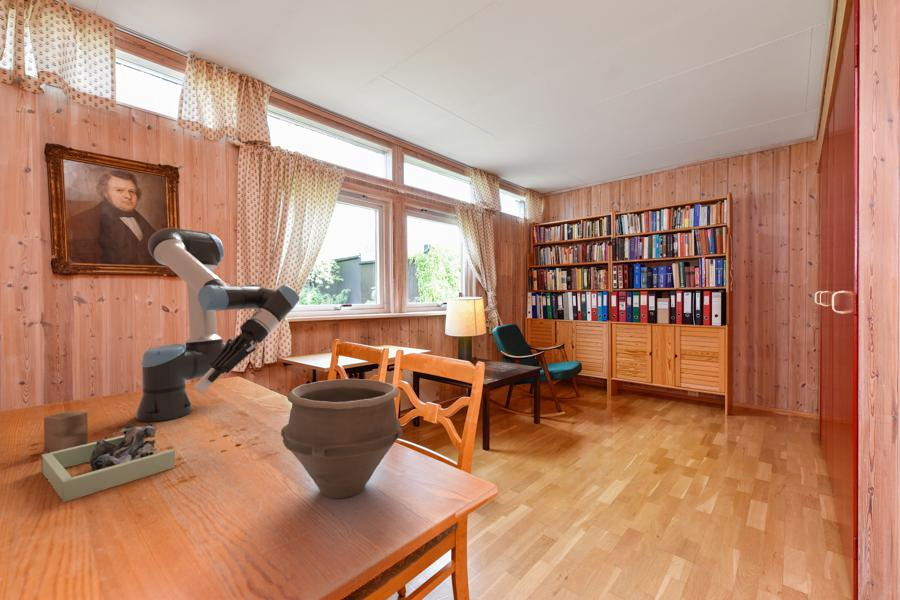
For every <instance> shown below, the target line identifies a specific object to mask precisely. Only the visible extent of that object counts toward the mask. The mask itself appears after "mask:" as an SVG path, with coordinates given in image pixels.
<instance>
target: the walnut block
mask: <svg viewBox="0 0 900 600" xmlns="http://www.w3.org/2000/svg"><path fill="white" fill-rule="evenodd" d="M43 424H44V425H43V438H44V439H43V442H44V444H43V447H44V449H43V450H44V452H45V451H49V452H48V453H50V452H55V451H59V450H63V449H68V448H72V447H76V446H80V445H85V444H89V442H88V441H89V439H88V438H89V437H88V435H89V433H88V431H89V429H88V428H89V427H88V426H89V425H88V424H89V423H88V412H86V411H80V410H79V411H77V410H68V411H65V412H60V413H56V414H53V415H48V416H44V417H43Z"/></svg>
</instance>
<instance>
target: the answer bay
mask: <svg viewBox="0 0 900 600" xmlns="http://www.w3.org/2000/svg"><path fill="white" fill-rule="evenodd" d="M124 436H125V434H123V435H120V436H115V437H109V438H107V439H104V441H107V442H109V443H111V444H114V445H116V446H118V445H119V444H120V443H121V442H122V440H123V438H124ZM145 441H146V438H145V439H144V442H145ZM132 442H133V441H132ZM132 442H130V443H129V444H128V445H127V447H129V446H130V445H132V444H133V443H132ZM96 444H97V441H94V442H90V443H89V442H88V444H85V445H80V446H76V447H72V448H68V449H63V450H59V451H55V452H46V453H43V454H41V473H42V475H43V476H44V475H45V476H44V477H45V478H47V479H48V480H47V479H46V480H47V481H48V483H49V482H50V483H51V484H50V483H49V484H50V486H51V485H52V486H53V487H52V486H51V487H52V488H53V490H54V489H55V490H54V491H55V492H57V493H58V494H57V493H56V494H57V495H58V497H59V496H60V497H59V498H60V500H61V499H62V500H61V501H62V503H66V502H69V501H72V499H73V500H76V499H79V498H82V497H85V496H89V495H91V494H94V493H98V492H100V491H101V492H102V491H104V490H107V489H110V488H113V487H114V488H115V487H117V486H120V485H123V484H126V483H129V482H133V481H135V480H139V479H142V478H145V477H149V476H153V475H155V474H158V473H159V474H160V473H161V472H165V471H168V470H171V469H174V468H175V467H176V451H175V449H168V450H165V451H161V452H158V453H154V454H150V456H146V457H143V458H139V459H136V460H132V461H128V462H125V463H121V464H118V465H115V464H114V465H111V466H107V467H103V468H100V469H99V470H96V471H90V472H86V473H82V474H79V475H76V476H71V474H70V473H69V472H68V470H66V468H69V467H73V466H77V465H82V464H85V463H88V462H89V463H90V457H91V454H92V452H93V451H94V450H95V449H96V447H97V446H96ZM97 445H98V444H97ZM95 446H96V447H95ZM94 448H95V449H94ZM128 449H129V448H128ZM128 449H127V450H128ZM125 451H126V450H125ZM125 451H124V452H125ZM122 453H123V452H121V453H117V454H118V455H120V454H122Z"/></svg>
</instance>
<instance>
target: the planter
mask: <svg viewBox="0 0 900 600" xmlns="http://www.w3.org/2000/svg"><path fill="white" fill-rule="evenodd" d="M399 391H400V390H399V388H397V386H396V385H393V384H392V383H388V382H384V381H380V380H375V379H365V378H363V379H360V378H339V379H329V380H328V379H327V380H320V381H315V382H310V383H306V384H305V383H304V384H301V385H298V386H297V387H295V388H293V389H291V391H289V393H288V394H287V401H288V402H290V403H291V409H290V411H289V419H288V424H286V425H284V426H283V427H282V428H281V430H280V431H281V432H280V435H281V437H282V443H283V445H284V447H285V448H286V449H287V450H289V451H290V452H291V453H292V454H293V455H294V457H296V459H297V460H298V461H299V463H300V464H301V465H302V466H303V468H304V470H305V471H306V472H307V474H308V475H309V476H310V478H311V479H312V480H313V482H314V483H315V485H316V486H317V488H318V490H319V492H320V493H321V494H322V495H323V496H324V497H326V498H330V499H338V500H339V499H346V498H351V497H354V496H356V495H357V494H359V493H361V492H362V491H363V489H364V488H365V486H366V485H367V484H368V482H369V480H370V479H371V477H372V476H373V474H374V472H375V471H376V469H377V468H378V466H380V463H381V462H382V461H383V459H384V457H385V456H386V455H387V453H388V452H389V451H390V449H391V448H392V447H393V446H394V444H395V443H396V441H397V440H398V439H400V438H401V437H402V435H403V434H404V433H403V432H404V430H403V428H401V422H400V420H399V419H398V418H397V412H396V411H397V408H396V403H395V398H397V397H398V396H399V393H400V392H399Z"/></svg>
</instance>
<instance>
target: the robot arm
mask: <svg viewBox="0 0 900 600" xmlns="http://www.w3.org/2000/svg"><path fill="white" fill-rule="evenodd" d="M149 237H150V238H149V239H148V242H147V249H148V252H149V254H150V256H151V257H152V258H153V260H155V261H156V262H157V263H158V264H160V265H163V266H167V267H168V268H169V269H170V270H171V271H173V272H174V273H175V274H176V275H177V276H178V277H179V278H180V279H181V280H182V281H184V282H185V283H186V292H187V293H186V294H187V307H188V308H187V309H188V310H187V311H188V323H189V325H188V326H189V338H188V339H187V340H186V341H185V344H183V343H171V344H164V345H159V346H155V347H152V348H149V349H147V350H146V351H144V352H143V355H142V362H141V367H142V396H141V399H140V402H139V404H138V407H137V410H136V412H135V418H136V421H138V422H147V423H149V422H151V423H153V422H162V421H168V420H173V419H177V418H181V417H184V416H186V415H189V414H190V413H192V411H193V410H192V407H193V405H192V402H191V400H190V398H189V395H188V393H187V390H186V381H189V380H194V379H199V380H198V381H197V382H195V384H194V385H193V388H194V389H196V390H197V391H199V392H200V393H201V394H204V393H205V392H206V391H207V390H208V389H209V388H210V387H211V385H212V384H213V383H214V382H215V381H216V380H217V379H218V378H219V377H220V376H221V375H222V374H225V373H226V374H228V373H230V372H231V371H232V370H233V369H234V368H236V366H238V365H239V364H240V363H241V362H242V361H243V360H244V359H245V358H247V357H248V356H249V355H250V354H252V353H253V352H254V351H256V350H257V349H256V348H255V346H254V345H256V343H258V344H260V343H262V342H263V341H264V340H265V339H266V338H267V337H268V336H269V334H270V333H272V332H273V330H274V329H275V328H276V327H277V326H278V325H279V324H280V322H282V320H283V319H285V318H286V316H287V315H288V314H289V313H290V312H291V311H292V310H293V309H294V308H295V306H296V305H297V304H298V303H299V302H300V295H299V293H298V292H297V290H295V289H294V288H293V287H291V286H289V285H287V284H283V285H281V286H279V287H278V288H277V289H272V288H269V287H266V286H263V285H260V284H254V283H253V284H252V283H251V284H250V283H249V284H247V285H230V284H228V283H226V282H225V280H224V281H223V280H222V278H220V276H218V275H216V274H215V273H214V271H216V270H217V268H218V265H219V264H220V263H221V262H222V261H223V260H224V257H225V256H224V254H225V249H224V245H223V243H222V241H221V239H220V238H219V237H218V236H217V235H215V234H213V233H209V232H205V231H198V230H192V229H191V230H190V229H182V228H179V227H165V228H162V229H159V230H157V231H155V232H154V233H153V234H151V236H149ZM231 310H255V312H253V314H252V315H250V317H249V318H248V319H247V320H245V322H243V324H242V325H240V327H239V329H240V331H241V333H240V334H238V335H237V336H235V338H234V339H231V338H229V339H227V341H226V342H225V343H224V341H223V337H221V336H220V335H219V333H218V324H217V323H218V322H217V320H218V319H217V312H218V311H231Z"/></svg>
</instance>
